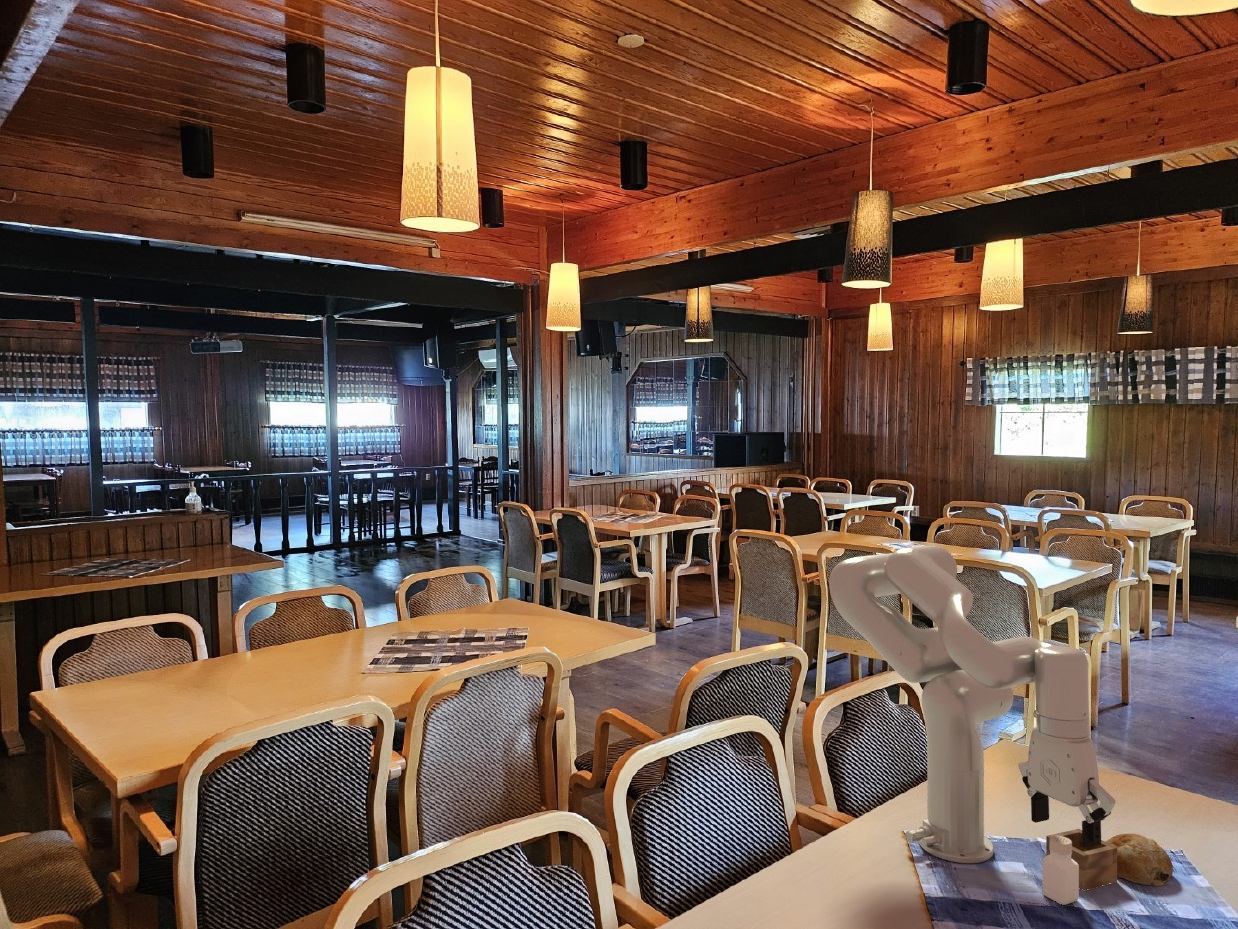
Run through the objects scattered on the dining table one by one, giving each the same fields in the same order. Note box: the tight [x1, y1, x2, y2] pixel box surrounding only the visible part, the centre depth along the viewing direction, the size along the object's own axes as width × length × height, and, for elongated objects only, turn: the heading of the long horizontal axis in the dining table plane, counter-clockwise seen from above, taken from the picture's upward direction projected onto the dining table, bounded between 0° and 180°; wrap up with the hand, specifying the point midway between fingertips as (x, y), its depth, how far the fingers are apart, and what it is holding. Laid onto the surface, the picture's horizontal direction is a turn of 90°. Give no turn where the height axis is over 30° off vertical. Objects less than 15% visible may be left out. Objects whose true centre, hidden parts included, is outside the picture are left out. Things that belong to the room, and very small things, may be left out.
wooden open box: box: [1045, 828, 1118, 891], centre depth 141 cm, size 7×7×6 cm
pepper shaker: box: [1042, 835, 1080, 906], centre depth 134 cm, size 4×4×10 cm
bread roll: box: [1104, 833, 1174, 887], centre depth 142 cm, size 10×10×8 cm
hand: (1065, 832), depth 133 cm, fingers open, 9 cm apart
